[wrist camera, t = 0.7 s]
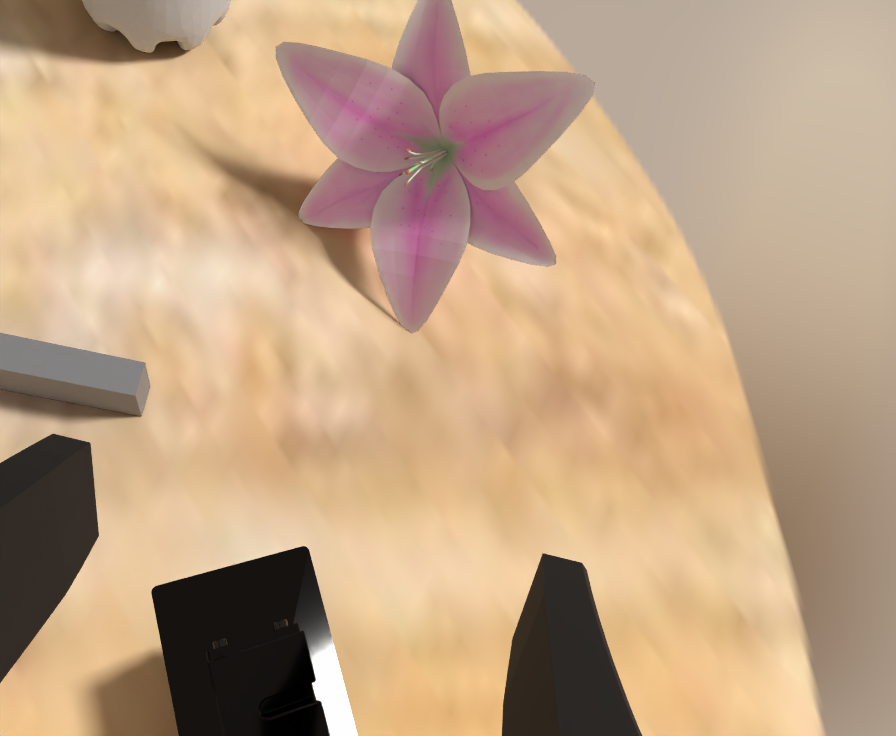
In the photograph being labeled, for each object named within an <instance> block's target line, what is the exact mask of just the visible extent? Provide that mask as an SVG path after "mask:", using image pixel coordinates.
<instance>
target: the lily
mask: <svg viewBox="0 0 896 736" xmlns="http://www.w3.org/2000/svg"><path fill="white" fill-rule="evenodd" d="M276 60H277V62H278V65H279V68H280V70H281V73H282V76H283V78H284V80H285V81H286V83H287V85H288V87H289V89H290V91H291V93H292V95H293V97H294V99H295V101H296V102H297V104H298V105H299V107H300V109H301V110H302V112H303V114H304V115H305V117H306V119H307V120H308V122H309V124H310V125H311V126H312V128H313V129H314V131H315V132H316V134H317V135H318V136H319V138H320V139H321V141H322V142H323V143H324V144H325V145H326V146H327V147H328V148H329V149H330V150H331V151H332V152H333V153H334V154H335V155H336V156H337V157H338V159H337V160H336V161H335V162H334V163H333V164H332V165H331V166H330V167H329V168H328V169H327V170H326V171H325V173H324V174H323V175H322V176H321V178H320V179H319V180H318V182H317V183H316V184H315V185H314V187H313V188H312V190H311V191H310V193H309V194H308V196H307V197H306V199H305V200H304V202H303V204H302V206H301V208H300V210H299V218H300V219H301V220H302V221H303V222H304V224H309V225H313V226H318V227H328V228H345V229H357V228H370V230H371V241H372V250H373V253H374V257H375V261H376V265H377V269H378V272H379V275H380V278H381V281H382V283H383V286H384V289H385V292H386V295H387V297H388V300H389V302H390V304H391V307H392V309H393V311H394V314H395V316H396V317H397V319H398V321H399V322H400V324H401V326H403V327H404V328H405V329H407V330H408V331H410V332H411V333H414V332H416V331H418V330H419V329H420V328H421V327H422V326H423V324H424V323H425V322H426V321H427V319H428V318H429V316H430V314H431V313H432V311H433V309H434V308H435V306H436V305H437V303H438V301H439V299H440V297H441V295H442V294H443V292H444V290H445V288H446V286H447V284H448V283H449V281H450V279H451V277H452V275H453V273H454V271H455V270H456V268H457V266H458V264H459V262H460V259H461V257H462V254H463V252H464V250H465V247H466V245H467V243H469V244H471V245H472V246H475V247H477V248H480V249H482V250H484V251H487V252H489V253H492V254H495V255H498V256H502V257H505V258H508V259H511V260H515V261H519V262H523V263H528V264H532V265H539V266H547V267H548V266H552V265H555V264H556V255H555V253H554V250H553V248H552V246H551V243H550V241H549V240H548V238H547V236H546V234H545V232H544V230H543V228H542V226H541V224H540V223H539V221H538V219H537V217H536V216H535V214H534V212H533V211H532V209H531V207H530V205H529V204H528V202H527V200H526V199H525V197H524V196H523V194H522V193H521V191H520V190H519V188H518V187H517V185H516V184H515V182H514V181H515V180H517V179H518V178H519V177H520V176H522V175H523V174H524V173H525V172H526V171H527V170H528V169H529V168H530V167H531V166H532V165H533V164H534V163H535V162H536V161H537V160H538V159H539V158H540V157H541V156H542V155H543V154H544V153H545V152H546V151H547V150H548V149H549V148H550V147H551V145H552V144H553V143H554V142H555V141H556V140H557V139H558V138H559V137H560V136H561V135H562V134H563V133H564V131H565V130H566V129H567V128H568V127H569V126H570V125H571V123H572V122H573V121H574V120H575V119H576V118H577V116H578V115H579V114H580V113H581V112H582V110H583V109H584V107H585V106H586V104H587V103H588V101H589V100H590V98H591V97H592V95H593V90H594V85H595V82H593V81H592V80H591V79H590V78H588V77H587V76H586V75H581V74H575V73H569V72H545V71H531V72H498V73H483V74H478V75H473V76H470V70H469V65H468V61H467V56H466V51H465V47H464V43H463V39H462V36H461V32H460V28H459V24H458V21H457V17H456V14H455V11H454V8H453V4H452V1H451V0H418V1H417V3H416V5H415V7H414V10H413V12H412V14H411V16H410V18H409V20H408V22H407V25H406V27H405V30H404V32H403V35H402V37H401V39H400V42H399V45H398V48H397V51H396V54H395V58H394V61H393V65H392V69H391V68H389V67H387V66H384V65H381V64H379V63H376V62H373V61H370V60H367V59H364V58H360V57H356V56H352V55H348V54H345V53H341V52H337V51H333V50H329V49H325V48H321V47H317V46H312V45H307V44H302V43H292V42H283V43H281V44H280V45H278V46H276Z"/></svg>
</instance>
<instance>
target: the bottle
mask: <svg viewBox="0 0 896 736" xmlns="http://www.w3.org/2000/svg"><path fill="white" fill-rule="evenodd" d="M82 2H83V5H84V7H85V9H86V10H87V12H88V13H89V15H90V16H91V18H92V19H93V21H94V22H95V23H96V24H97V25H98V26H99V27H100V28H102V29H104V30H106V31H116V30H118V31H120V32H121V33H122V34H123V35H124V36H125V37H126V38H127V39H128V41H129V42H130V43H131V45H132V46H133V47H134V48H135V49H137V50H140V51H142V52H147V53H151V52H153V51H154V49H155V46H156V45H157V44H158V43H160V42H164V41H177V42H178V44H179V46H180V47H181V48H182V49H184V50H191V49H194V48H196V47H197V46H199V45H201V43H202V42H203V41H204V39H205V38H206V36H207V34H208V32H209V31H210V29H211V27H212V26H214V25H217V24H219V23H220V22H221V21H222V20H223V19H224V17H225V15H226V13H227V11H228V9H229V5H230V0H82Z"/></svg>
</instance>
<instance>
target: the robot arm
mask: <svg viewBox="0 0 896 736" xmlns="http://www.w3.org/2000/svg"><path fill="white" fill-rule="evenodd" d="M98 536H99V532H98V521H97V510H96V499H95V488H94V477H93V466H92V455H91V444H90V443H89V442H85V441H81V440H77V439H73V438H68V437H64V436H60V435H56V434H52V435H50V436H48V437H46V438H44V439H42V440H40V441H39V442H37V443H35V444H33V445H31V446H30V447H28V448H26V449H24V450H22V451H21V452H19V453H17V454H15V455H14V456H12V457H10V458H8V459H7V460H5V461H3V462H1V463H0V683H1V681H2V680H3V679H4V677H5V676H6V675H7V673H8V672H9V671H10V669H11V668H12V667H13V665H14V664H15V663H16V661H17V660H18V659H19V657H20V656H21V655H22V653H23V652H24V650H25V649H26V648H27V646H28V645H29V644H30V642H31V641H32V640H33V638H34V637H35V636H36V634H37V633H38V632H39V630H40V629H41V628H42V626H43V625H44V623H45V622H46V621H47V619H48V618H49V617H50V615H51V614H52V613H53V611H54V610H55V609H56V607H57V606H58V604H59V603H60V602H61V600H62V599H63V597H64V596H65V595H66V593H67V591H68V590H69V588H70V586H71V585H72V583H73V581H74V579H75V578H76V576H77V574H78V573H79V571H80V569H81V568H82V566H83V564H84V562H85V560H86V558H87V557H88V555H89V553H90V551H91V549H92V547H93V545H94V544H95V542H96V540H97V538H98ZM502 736H642V734H641V732H640V730H639V727H638V725H637V723H636V720H635V718H634V715H633V713H632V710H631V708H630V705H629V703H628V700H627V697H626V694H625V692H624V689H623V686H622V684H621V681H620V678H619V676H618V673H617V670H616V668H615V665H614V662H613V659H612V656H611V653H610V650H609V647H608V644H607V641H606V638H605V635H604V632H603V629H602V625H601V622H600V619H599V616H598V612H597V609H596V605H595V602H594V598H593V594H592V590H591V586H590V582H589V578H588V574H587V570H586V568H585V567H584V565H583V564H582V563H580V562H576V561H572V560H568V559H564V558H560V557H556V556H551V555H547V554H542V557H541V560H540V563H539V566H538V568H537V571H536V574H535V577H534V580H533V582H532V585H531V588H530V591H529V594H528V596H527V599H526V602H525V605H524V608H523V611H522V613H521V616H520V619H519V622H518V625H517V627H516V630H515V633H514V636H513V639H512V646H511V653H510V659H509V666H508V673H507V680H506V687H505V694H504V702H503V723H502Z"/></svg>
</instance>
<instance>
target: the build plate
mask: <svg viewBox="0 0 896 736" xmlns="http://www.w3.org/2000/svg"><path fill="white" fill-rule="evenodd" d="M152 598H153V603H154V608H155V614H156V619H157V624H158V629H159V634H160V640H161V645H162V650H163V655H164V660H165V666H166V671H167V676H168V681H169V686H170V692H171V697H172V702H173V707H174V712H175V718H176V723H177V728H178V733H179V736H358V735H357V731H356V727H355V723H354V720H353V716H352V712H351V708H350V704H349V701H348V697H347V693H346V689H345V685H344V682H343V678H342V674H341V670H340V666H339V663H338V659H337V655H336V651H335V647H334V644H333V640H332V636H331V632H330V628H329V624H328V621H327V617H326V613H325V609H324V605H323V602H322V598H321V594H320V590H319V586H318V583H317V579H316V575H315V571H314V567H313V564H312V560H311V556H310V552H309V549H308V548H307V547H305V546H302V547H298V548H295V549H291V550H287V551H284V552H280V553H276V554H273V555H269V556H265V557H261V558H258V559H254V560H250V561H247V562H243V563H239V564H236V565H232V566H228V567H225V568H221V569H217V570H213V571H210V572H206V573H202V574H199V575H195V576H191V577H188V578H184V579H180V580H177V581H173V582H169V583H165V584H162V585H158V586H155V587H154V588H153V589H152Z"/></svg>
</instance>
